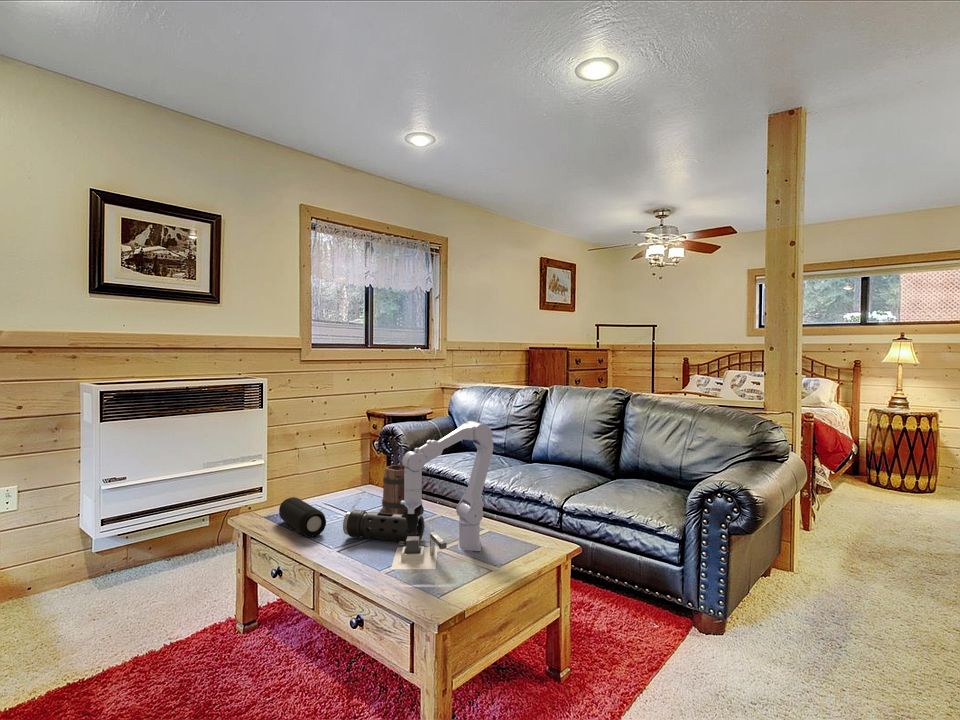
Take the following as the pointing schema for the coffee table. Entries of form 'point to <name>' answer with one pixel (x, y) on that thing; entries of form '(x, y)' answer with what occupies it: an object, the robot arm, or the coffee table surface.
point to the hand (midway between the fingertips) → (412, 528)
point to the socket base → (414, 559)
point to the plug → (411, 545)
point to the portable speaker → (302, 516)
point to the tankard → (394, 490)
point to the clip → (436, 539)
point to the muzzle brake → (380, 526)
